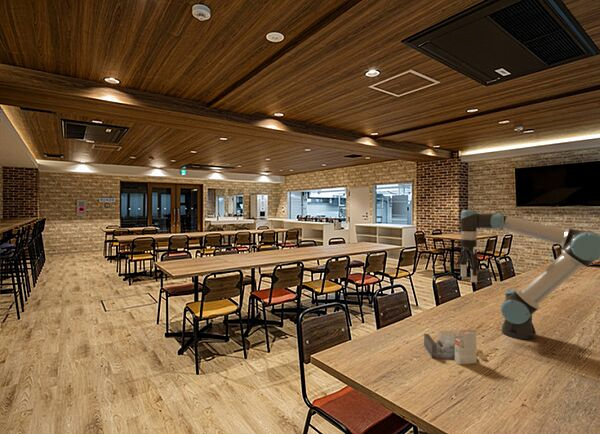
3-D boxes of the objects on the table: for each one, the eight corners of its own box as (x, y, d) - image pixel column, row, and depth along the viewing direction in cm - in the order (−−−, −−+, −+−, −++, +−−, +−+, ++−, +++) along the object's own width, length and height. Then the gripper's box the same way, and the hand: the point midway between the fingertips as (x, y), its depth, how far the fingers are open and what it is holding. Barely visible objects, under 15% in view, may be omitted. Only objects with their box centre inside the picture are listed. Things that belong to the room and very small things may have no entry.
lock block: (456, 345, 155) (456, 331, 155) (461, 351, 149) (461, 335, 149) (437, 345, 156) (437, 330, 156) (441, 350, 150) (441, 335, 150)
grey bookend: (463, 347, 158) (463, 334, 158) (474, 359, 146) (474, 346, 145) (424, 346, 160) (424, 333, 160) (432, 358, 147) (431, 344, 147)
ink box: (454, 361, 144) (454, 327, 144) (471, 360, 145) (471, 326, 145) (459, 364, 141) (459, 330, 140) (476, 363, 142) (476, 329, 141)
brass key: (472, 352, 153) (472, 349, 153) (480, 352, 153) (480, 349, 153) (480, 360, 145) (480, 357, 145) (489, 360, 144) (489, 357, 144)
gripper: (452, 237, 189) (452, 274, 189) (470, 241, 164) (470, 284, 164) (466, 237, 188) (466, 274, 188) (486, 241, 163) (486, 284, 163)
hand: (468, 279), depth 176 cm, fingers open, 13 cm apart
